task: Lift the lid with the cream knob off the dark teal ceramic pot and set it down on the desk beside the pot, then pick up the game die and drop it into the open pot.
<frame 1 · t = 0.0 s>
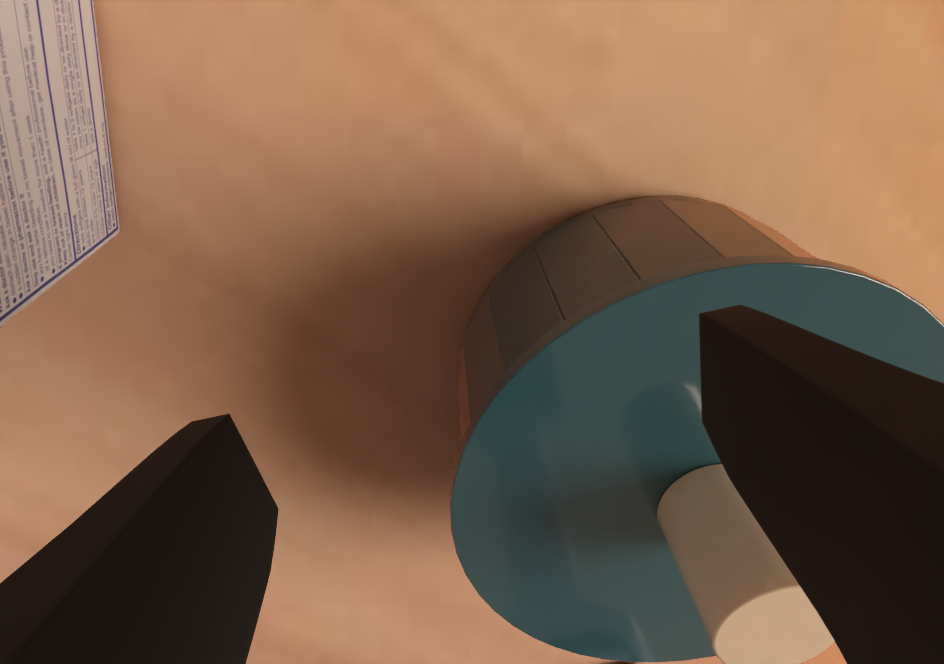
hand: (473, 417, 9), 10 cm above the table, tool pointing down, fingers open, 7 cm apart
medicine box: (27, 77, 16), on the table
pot: (635, 368, 21), on the table
lid: (702, 490, 16), point 6 cm above the table, touching pot
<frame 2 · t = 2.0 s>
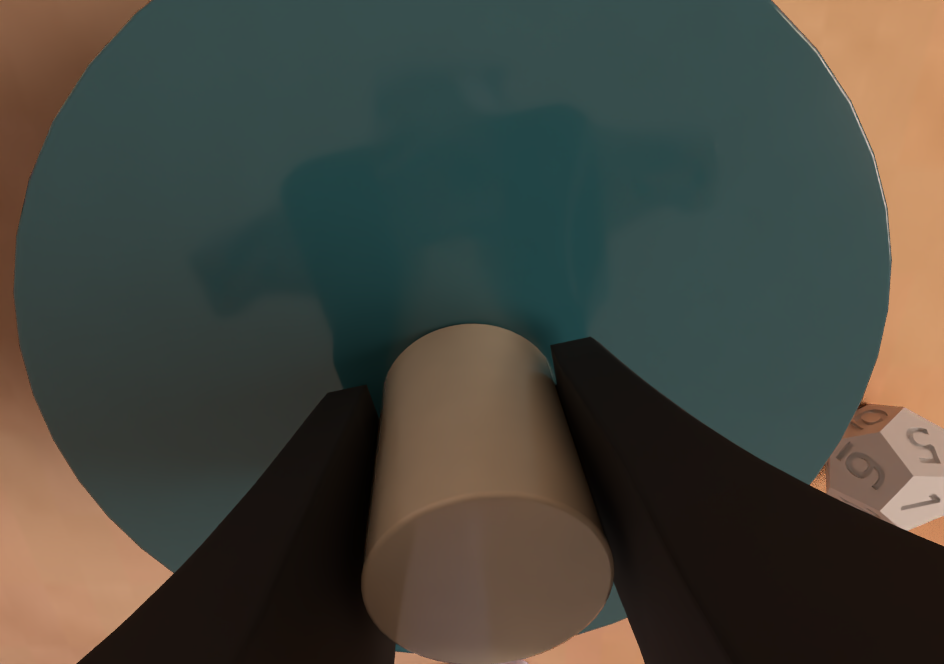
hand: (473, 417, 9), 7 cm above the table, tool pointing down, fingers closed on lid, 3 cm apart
game die: (851, 429, 19), on the table
lid: (468, 381, 10), point 6 cm above the table, touching gripper, pot
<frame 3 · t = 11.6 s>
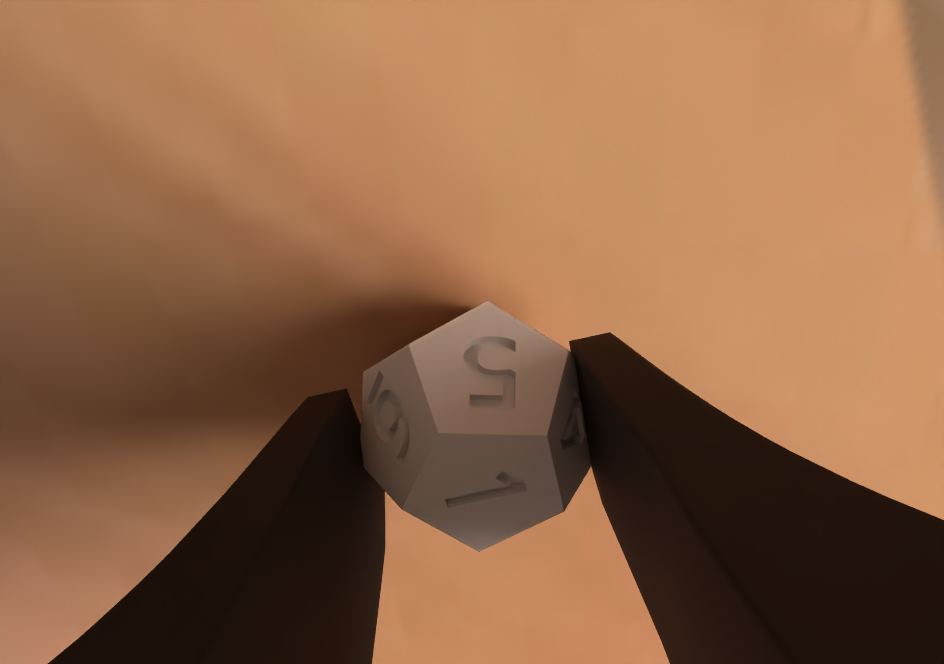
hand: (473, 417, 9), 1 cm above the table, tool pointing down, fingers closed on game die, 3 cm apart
game die: (471, 361, 11), on the table, touching gripper
when the fingers open (3 cm above the table, at t = 15.8 s): game die stays where it is, resting on pot.
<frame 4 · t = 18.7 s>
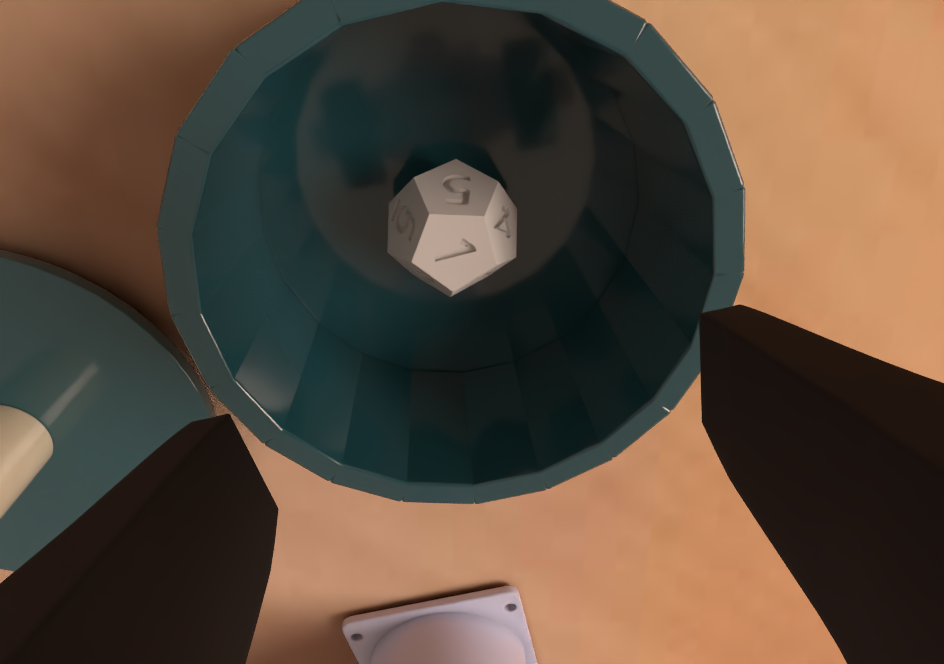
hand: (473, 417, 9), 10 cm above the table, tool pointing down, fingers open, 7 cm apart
game die: (451, 211, 18), resting on pot
pot: (451, 208, 18), on the table
lid: (17, 428, 21), point 1 cm above the table
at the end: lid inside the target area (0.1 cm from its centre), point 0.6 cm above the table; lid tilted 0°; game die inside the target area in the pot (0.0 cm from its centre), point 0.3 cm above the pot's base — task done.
